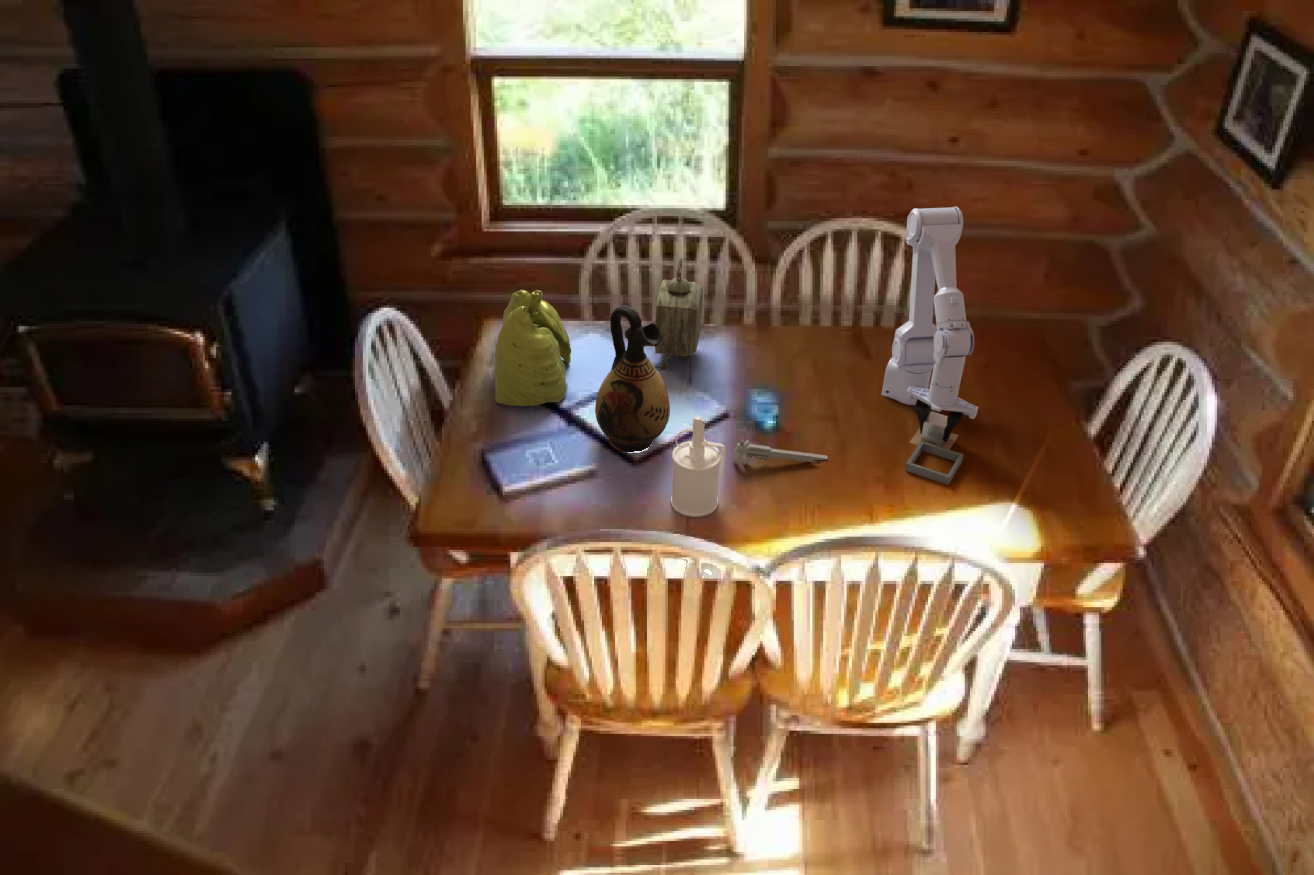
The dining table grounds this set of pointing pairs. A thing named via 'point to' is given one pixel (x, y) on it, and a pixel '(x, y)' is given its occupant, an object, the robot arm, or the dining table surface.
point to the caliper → (771, 453)
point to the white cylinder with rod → (696, 473)
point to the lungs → (531, 352)
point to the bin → (931, 473)
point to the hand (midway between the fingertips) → (934, 435)
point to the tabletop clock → (678, 316)
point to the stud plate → (946, 445)
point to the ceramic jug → (632, 387)
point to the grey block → (934, 429)
